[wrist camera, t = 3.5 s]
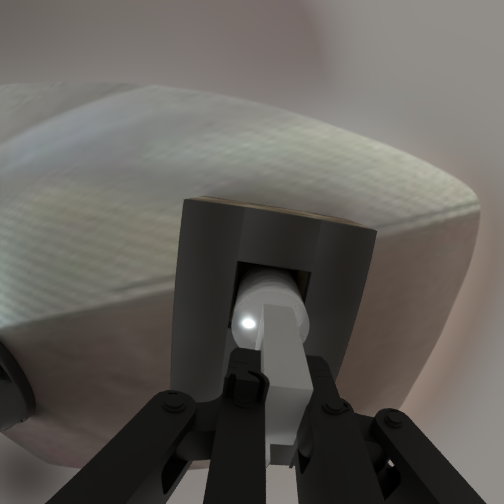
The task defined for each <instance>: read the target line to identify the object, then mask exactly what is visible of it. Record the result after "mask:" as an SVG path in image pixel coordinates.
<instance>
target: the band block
mask: <svg viewBox="0 0 504 504" xmlns="http://www.w3.org/2000/svg"><path fill="white" fill-rule="evenodd" d="M376 234H377V231H376V230H373V229H370V228H368V227H365V226H363V225H360V224H358V223H355V222H352V221H350V220H345V219H340V218H334V217H329V216H323V215H318V214H312V213H307V212H301V211H295V210H289V209H283V208H277V207H271V206H265V205H258V204H252V203H245V202H239V201H232V200H225V199H218V198H211V197H203V196H202V197H196V198H189V199H184V203H183V211H182V219H181V228H180V237H179V247H178V257H177V268H176V280H175V294H174V308H173V326H172V349H171V390H176V391H180V392H184V393H186V394H188V395H190V396H191V397H192V398H193V399H194V400H195V402H208V401H212V400H215V399H217V398H218V397H220V396H221V394H222V392H223V385H224V378H225V375H226V374H227V369H228V364H229V358H230V353H231V352H232V351H233V350H234V349H235V348H236V347H239V346H238V345H237V343H236V341H235V340H234V337H233V334H232V319H233V314H234V309H235V304H236V299H237V297H236V296H235V292H236V285H237V278H238V271H239V264H240V261H243V262H249V263H256V264H262V265H269V266H276V267H282V268H289V269H295V270H296V271H295V276H294V280H295V282H296V285H297V287H298V290H299V293H300V295H301V298H302V301H303V303H304V306H305V309H306V312H307V314H308V318H309V332H308V335H307V338H306V340H305V342H304V343H303V348H304V352H305V355H311V356H321V357H322V358H323V359H324V360H325V361H326V362H327V363H328V365H329V368H330V370H331V373H332V376H333V379H334V382H335V381H336V378H337V375H338V372H339V369H340V366H341V364H342V361H343V358H344V355H345V352H346V349H347V345H348V342H349V339H350V336H351V333H352V329H353V326H354V323H355V319H356V316H357V312H358V309H359V305H360V302H361V298H362V294H363V290H364V286H365V282H366V278H367V274H368V270H369V266H370V262H371V257H372V253H373V248H374V244H375V239H376ZM297 446H298V443H297V436H296V439H295V441H294V444H293V445H280V444H270V464H271V465H290V462H291V460H292V458H293V455H294V453H295V451H296V448H297ZM293 466H295V463H294V465H293Z"/></svg>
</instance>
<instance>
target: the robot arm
mask: <svg viewBox="0 0 504 504" xmlns="http://www.w3.org/2000/svg"><path fill="white" fill-rule="evenodd" d="M34 410H35V400H34V396H33V393H32V390H31V388H30V385H29V383H28V381H27V379H26V377H25V376H24V374H23V372H22V370H21V369H20V367H19V366H18V364H17V363H16V361H15V360H14V359H13V357H12V356H11V355H10V353H9V352H8V351H7V350H6V349H5V347H4V346H3V345H2V344H1V343H0V432H2V431H4V430H6V429H8V428H10V427H12V426H14V425H15V424H16V423H22V422H24V421H26V420H27V419H28V418H29V417H30V416H31V414H32V413H33V412H34ZM296 436H297V443H298V446H297V448H296V451H295V453H294V455H293V458H292V460H291V462H290V466H289V468H292V467H293V465H294V463H295V470H296V481H297V492H298V503H299V504H486V503H485V502H484V500H483V499H482V498H481V497H480V496H479V495H478V494H477V493H476V491H475V490H474V489H473V488H472V487H471V486H470V485H469V484H468V483H467V481H466V480H465V479H464V478H463V477H462V476H461V475H460V474H459V472H458V471H457V470H456V469H455V468H454V467H453V466H452V465H451V464H450V463H449V461H448V460H447V459H446V458H445V457H444V456H443V455H442V454H441V452H440V451H439V450H438V449H437V448H436V447H435V446H434V445H433V444H432V442H431V441H430V440H429V439H428V438H427V437H426V436H425V435H424V434H423V432H422V431H421V430H420V429H419V428H418V427H417V426H416V425H415V424H414V423H413V421H412V420H411V419H410V418H409V417H408V416H407V415H406V414H405V413H403V412H401V411H399V410H397V409H392V408H387V409H382V410H380V411H378V413H377V414H376V415H375V417H369V416H365V415H360V414H357V413H354V411H353V408H352V407H351V405H350V404H349V403H348V402H347V401H345V400H344V399H342V398H340V396H339V393H338V391H337V388H336V385H335V382H334V379H333V376H332V373H331V370H330V368H329V365H328V363H327V362H326V361H325V360H324V359H323V358H322V357H321V356H311V355H305V352H304V348H303V344H302V340H301V336H300V332H299V328H298V324H297V320H296V316H295V312H294V309H293V308H292V307H285V306H278V305H271V304H264V303H263V308H262V314H261V319H260V325H259V330H258V336H257V341H256V346H255V350H254V349H247V348H240V347H236V348H235V349H234V350H233V351H232V352H231V353H230V358H229V364H228V369H227V374H226V375H225V378H224V385H223V392H222V394H221V396H220V397H218V398H217V399H215V400H212V401H208V402H195V400H194V399H193V398H192V397H191V396H190V395H188V394H186V393H184V392H180V391H176V390H167V391H163V392H159V393H158V394H157V395H155V396H154V397H153V398H152V399H151V400H150V401H149V402H148V403H147V404H146V405H145V406H144V407H143V408H142V409H141V410H140V411H139V412H138V413H137V414H136V415H135V416H134V417H133V418H132V419H131V420H130V421H129V422H128V423H127V424H126V425H125V426H124V427H123V428H122V429H121V430H120V431H119V432H118V434H117V435H116V436H115V437H114V438H113V439H112V440H111V441H110V442H109V443H108V444H107V445H105V446H104V447H103V448H102V449H101V450H100V451H99V452H98V453H97V454H96V455H95V456H94V457H93V458H92V459H91V460H90V461H89V462H88V463H87V464H86V465H85V466H84V467H83V468H82V469H81V470H80V471H79V472H78V473H77V474H76V475H75V476H74V477H73V478H72V479H71V480H70V481H69V482H68V483H67V484H66V485H64V486H63V487H62V488H61V489H60V490H59V491H58V492H57V493H56V494H55V495H54V496H53V497H52V498H51V499H50V500H48V501H47V502H46V503H45V504H166V502H167V501H168V499H169V497H170V496H171V495H172V493H173V492H174V490H175V489H176V487H177V486H178V484H179V482H180V481H181V479H182V478H183V476H184V475H185V473H186V471H187V470H188V468H189V467H190V465H191V464H192V461H195V460H209V459H211V461H210V466H209V472H208V478H207V483H206V489H205V495H204V500H203V504H266V443H268V444H280V445H293V444H294V441H295V439H296ZM389 460H391V461H392V463H393V464H394V466H393V467H392V466H390V465H389V463H388V462H389Z"/></svg>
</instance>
